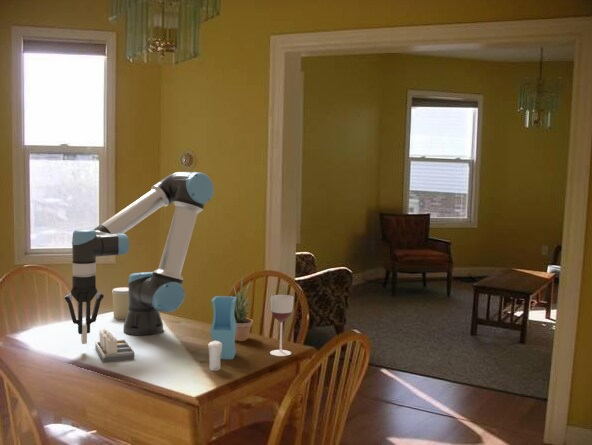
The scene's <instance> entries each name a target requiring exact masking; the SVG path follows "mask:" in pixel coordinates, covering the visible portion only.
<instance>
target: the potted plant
mask: <svg viewBox="0 0 592 445" xmlns="http://www.w3.org/2000/svg"><path fill="white" fill-rule="evenodd" d="M250 285H251V279H250V280H249V282H248V284H247V287H246V288H245V290H244V293H243V276H241V280H240V289H239V291H238V292H237V291H236V287H235V285H233V291H234V297H237V299H236V303H235V308H234V316H235V321H236V324H237V329H236V334H235V342H244V341H247V340H248V337H249V334H250V330H251V328H252V326H253V323H254V321H253V319H251V318H248V314H249V311H250V308H248V307H249V306H250V305H251V301H252V299H251V300H250V296H251V295H250V294H249V296H248V297H247V298H246V295H247V293H248V291H249V288H250ZM230 297H233V296H232V295H230ZM245 298H246V299H245ZM248 300H249V301H248ZM247 302H248V303H247ZM246 304H247V305H246ZM247 308H248V309H247Z"/></svg>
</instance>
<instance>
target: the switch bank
mask: <svg viewBox="0 0 592 445" xmlns="http://www.w3.org/2000/svg"><path fill="white" fill-rule="evenodd" d="M94 347H95V350H96V352H97V354H98V355H99V357H100V359H101V361H102V363H110V362H120V361H121V362H122V361H131V360H135V351H134V350H133V348H132V347H131V346H130V345H129V343H128V342H127V341H126V340H125V339H117V353H114V354H107V353H106V350H103V349H102V346H101V345H100V341H95V346H94Z"/></svg>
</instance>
